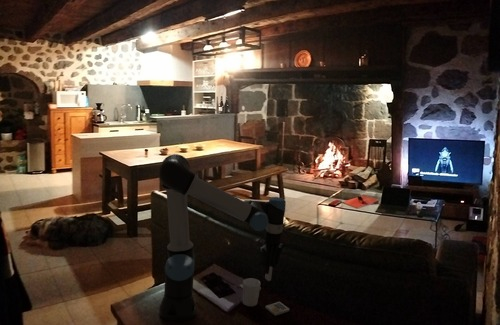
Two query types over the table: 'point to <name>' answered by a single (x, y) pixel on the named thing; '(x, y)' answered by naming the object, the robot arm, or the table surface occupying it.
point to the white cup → (251, 291)
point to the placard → (277, 308)
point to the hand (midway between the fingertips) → (267, 279)
